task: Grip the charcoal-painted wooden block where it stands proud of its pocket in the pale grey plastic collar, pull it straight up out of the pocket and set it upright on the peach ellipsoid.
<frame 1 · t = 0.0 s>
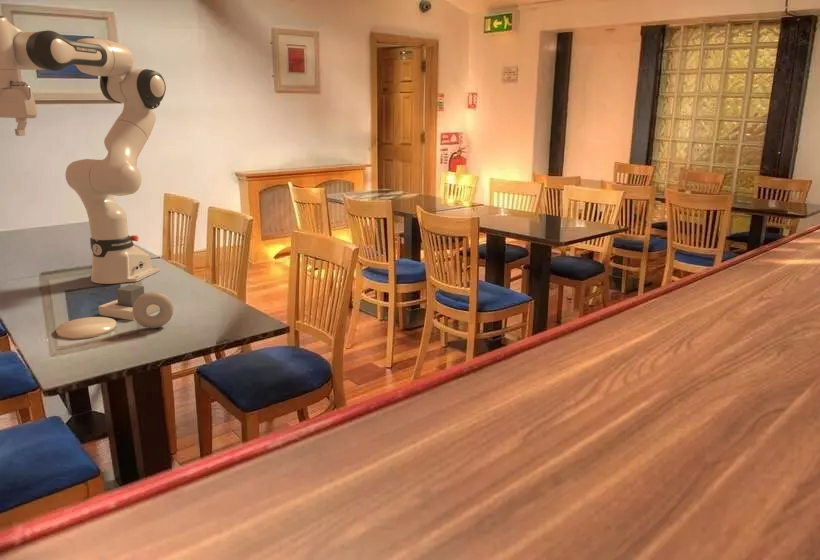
hand: (7, 135, 171), 48 cm above the table, fingers open, 8 cm apart
peach ellipsoid: (87, 329, 165), on the table
pocket collar: (132, 311, 180), on the table
block: (131, 299, 179), in the pocket collar
donut: (155, 328, 167), on the table
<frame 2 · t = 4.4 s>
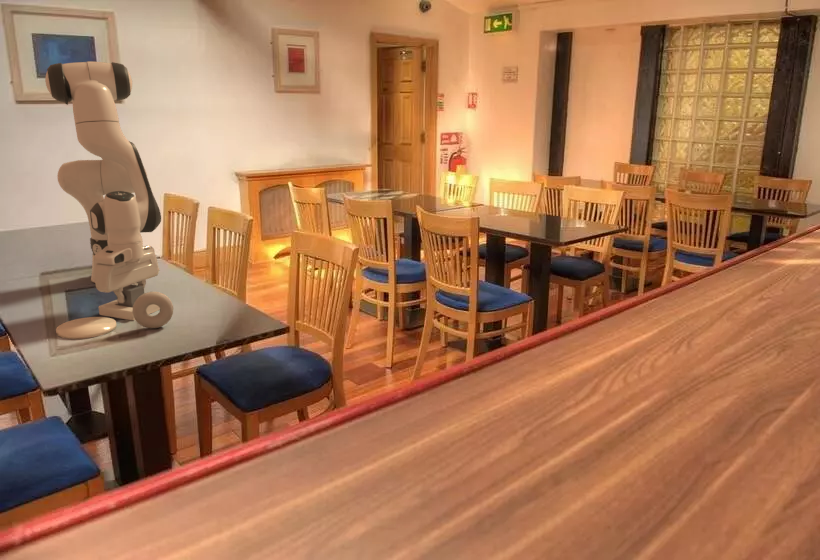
hand: (131, 299, 179), 4 cm above the table, fingers closed on block, 5 cm apart
block: (131, 299, 179), in the pocket collar, touching gripper
everything else where it was.
when the fingers open (7 cm above the table, at t = 10.7 s): block drops 2 cm, resting on peach ellipsoid.
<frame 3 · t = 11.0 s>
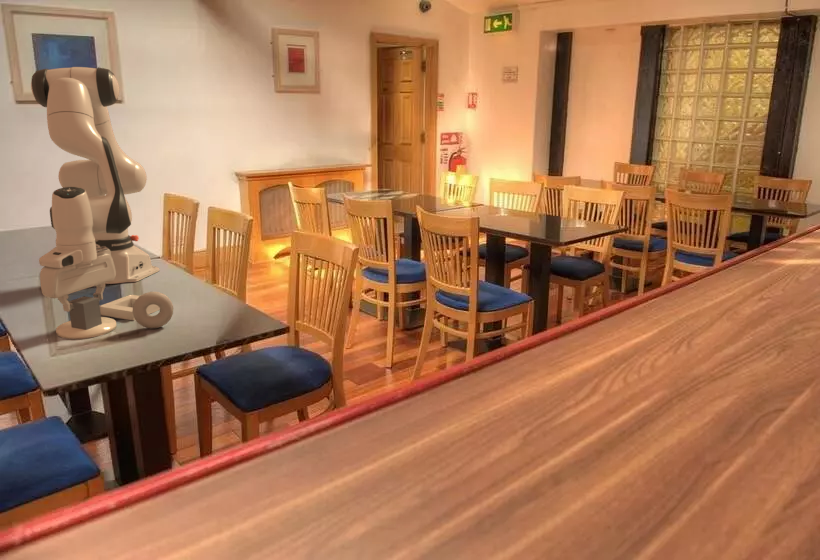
hand: (84, 305, 164), 7 cm above the table, fingers open, 8 cm apart
block: (85, 312, 164), on the peach ellipsoid, point 4 cm above the table
everything else where it was.
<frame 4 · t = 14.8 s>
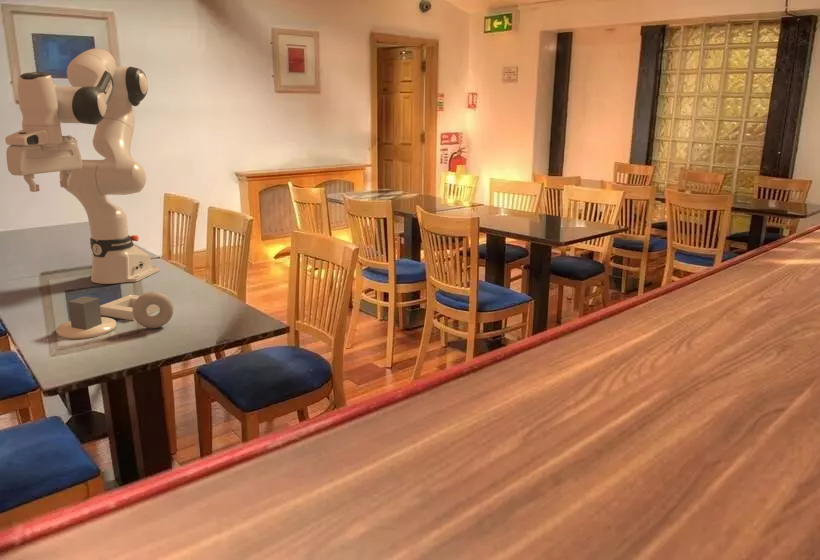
hand: (50, 189, 171), 34 cm above the table, fingers open, 8 cm apart
nothing on the table moved.
at the end: block inside the target area on the peach ellipsoid (0.1 cm from its centre), point 4.5 cm above the peach ellipsoid's base; block tilted 0°; the gripper is holding nothing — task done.
